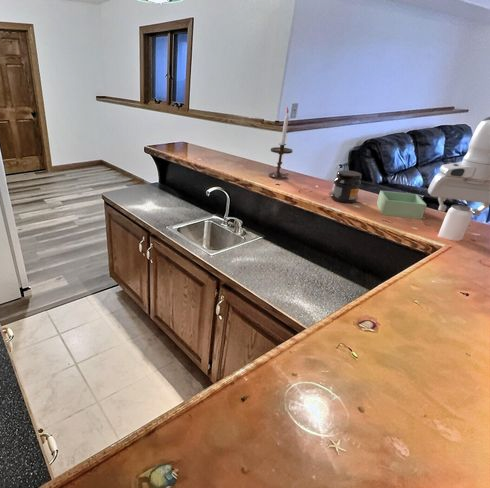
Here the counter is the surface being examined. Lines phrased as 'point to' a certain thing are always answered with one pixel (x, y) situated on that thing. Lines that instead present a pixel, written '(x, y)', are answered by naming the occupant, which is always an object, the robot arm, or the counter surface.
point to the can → (456, 222)
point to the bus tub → (401, 204)
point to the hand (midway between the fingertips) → (458, 212)
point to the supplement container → (346, 186)
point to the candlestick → (281, 150)
